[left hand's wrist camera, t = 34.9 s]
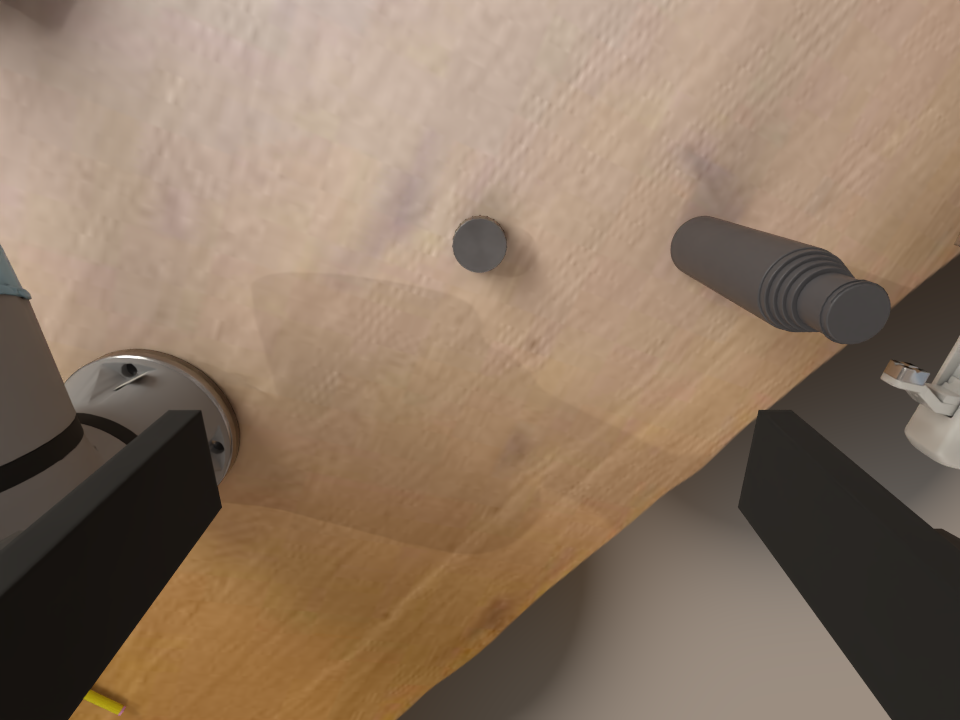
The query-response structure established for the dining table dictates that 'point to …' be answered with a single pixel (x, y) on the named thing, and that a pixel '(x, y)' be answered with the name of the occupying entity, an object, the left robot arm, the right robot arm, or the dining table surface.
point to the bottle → (781, 280)
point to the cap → (479, 244)
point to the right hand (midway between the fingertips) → (927, 307)
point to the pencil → (104, 702)
